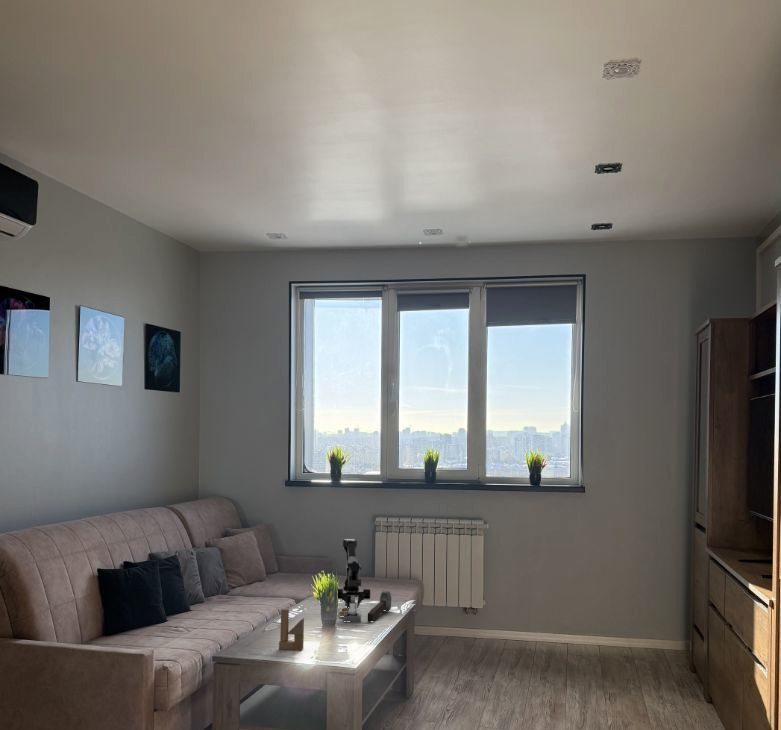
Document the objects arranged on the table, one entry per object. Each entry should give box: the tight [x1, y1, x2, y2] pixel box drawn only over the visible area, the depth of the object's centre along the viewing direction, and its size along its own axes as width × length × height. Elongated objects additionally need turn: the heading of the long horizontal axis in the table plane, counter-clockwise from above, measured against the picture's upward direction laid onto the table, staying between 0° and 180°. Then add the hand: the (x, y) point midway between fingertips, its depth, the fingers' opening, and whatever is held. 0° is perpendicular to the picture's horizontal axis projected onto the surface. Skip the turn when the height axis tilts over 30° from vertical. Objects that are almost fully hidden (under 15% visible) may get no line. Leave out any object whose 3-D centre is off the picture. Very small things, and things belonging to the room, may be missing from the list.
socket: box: [343, 612, 362, 623], centre depth 422 cm, size 9×9×3 cm
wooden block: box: [278, 607, 305, 652], centre depth 366 cm, size 4×11×18 cm, turn 80°
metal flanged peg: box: [349, 595, 357, 616], centre depth 422 cm, size 4×4×13 cm
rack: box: [339, 608, 349, 617], centre depth 432 cm, size 8×8×3 cm
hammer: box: [367, 590, 392, 622], centre depth 433 cm, size 5×11×30 cm
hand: (352, 607), depth 421 cm, fingers open, 5 cm apart
